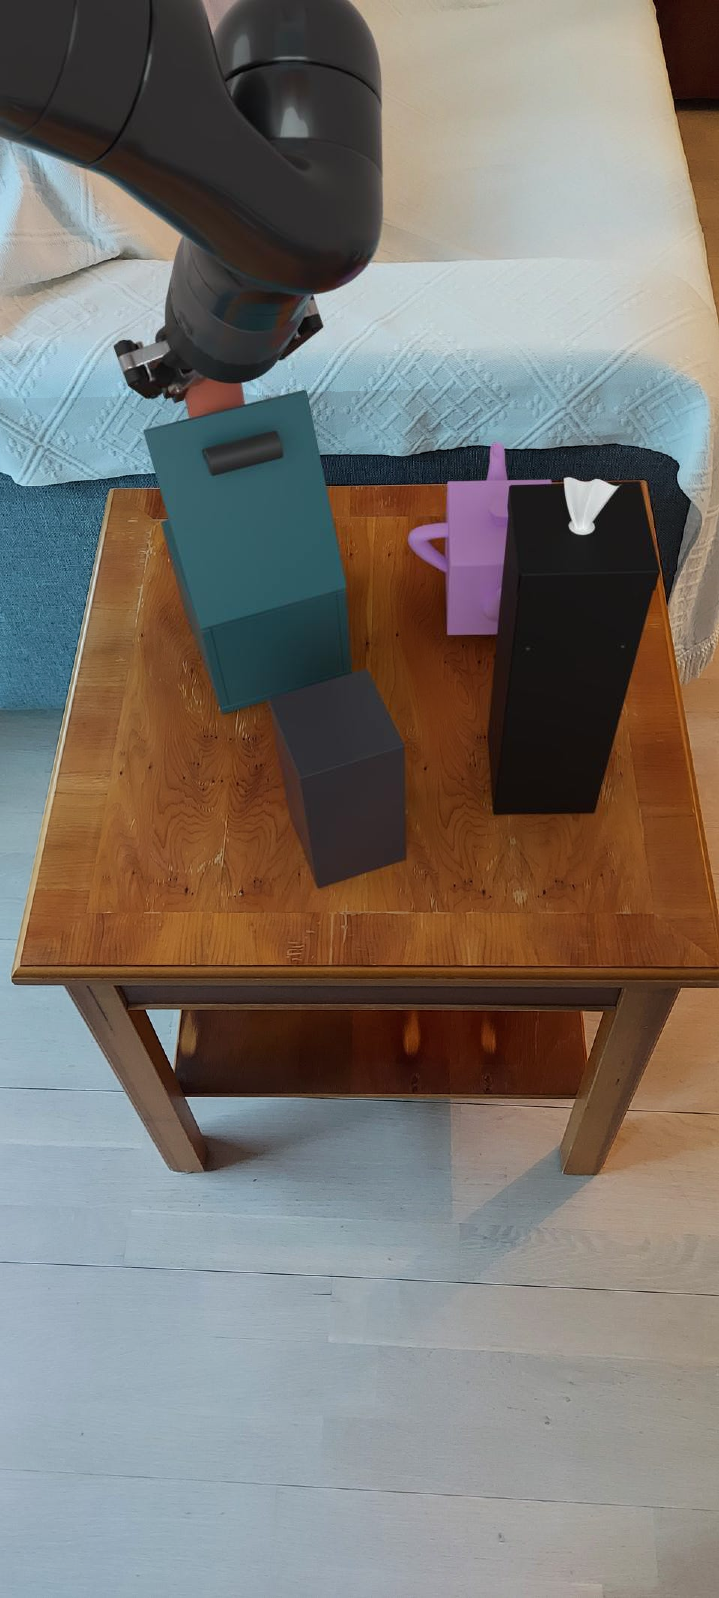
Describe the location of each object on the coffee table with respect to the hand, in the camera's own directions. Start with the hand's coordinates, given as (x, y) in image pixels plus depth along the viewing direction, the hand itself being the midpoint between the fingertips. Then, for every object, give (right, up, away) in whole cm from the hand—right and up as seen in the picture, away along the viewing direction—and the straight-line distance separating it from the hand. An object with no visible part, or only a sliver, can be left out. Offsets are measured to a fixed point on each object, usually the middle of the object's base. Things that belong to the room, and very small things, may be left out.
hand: (204, 378), depth 73 cm
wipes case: (+3, -17, +15) cm, 23 cm away
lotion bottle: (+1, -4, +3) cm, 5 cm away
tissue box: (+25, -29, +6) cm, 39 cm away
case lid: (+3, -10, 0) cm, 10 cm away
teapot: (+23, -13, +17) cm, 32 cm away
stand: (+10, -34, +3) cm, 35 cm away
